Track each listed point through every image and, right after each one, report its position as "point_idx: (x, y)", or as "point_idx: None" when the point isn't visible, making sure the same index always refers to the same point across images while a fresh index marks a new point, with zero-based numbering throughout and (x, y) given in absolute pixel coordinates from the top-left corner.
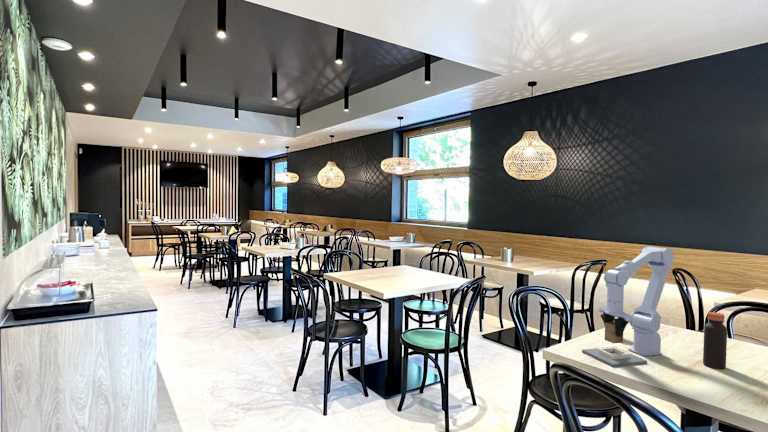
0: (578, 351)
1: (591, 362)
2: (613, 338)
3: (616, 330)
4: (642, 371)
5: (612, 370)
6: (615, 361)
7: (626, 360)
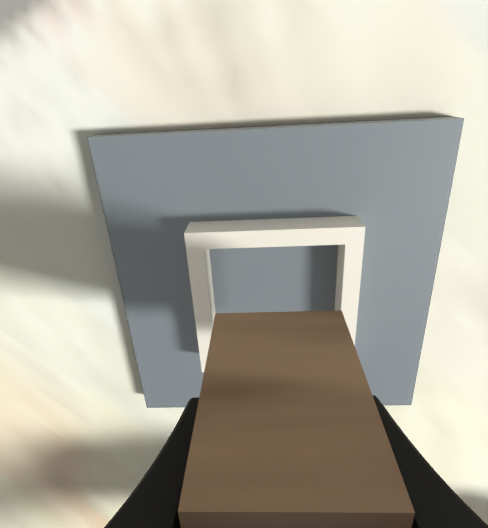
0: (481, 95)
1: (210, 11)
2: (210, 345)
3: (180, 456)
4: (23, 281)
5: (25, 74)
6: (148, 208)
7: (161, 299)
